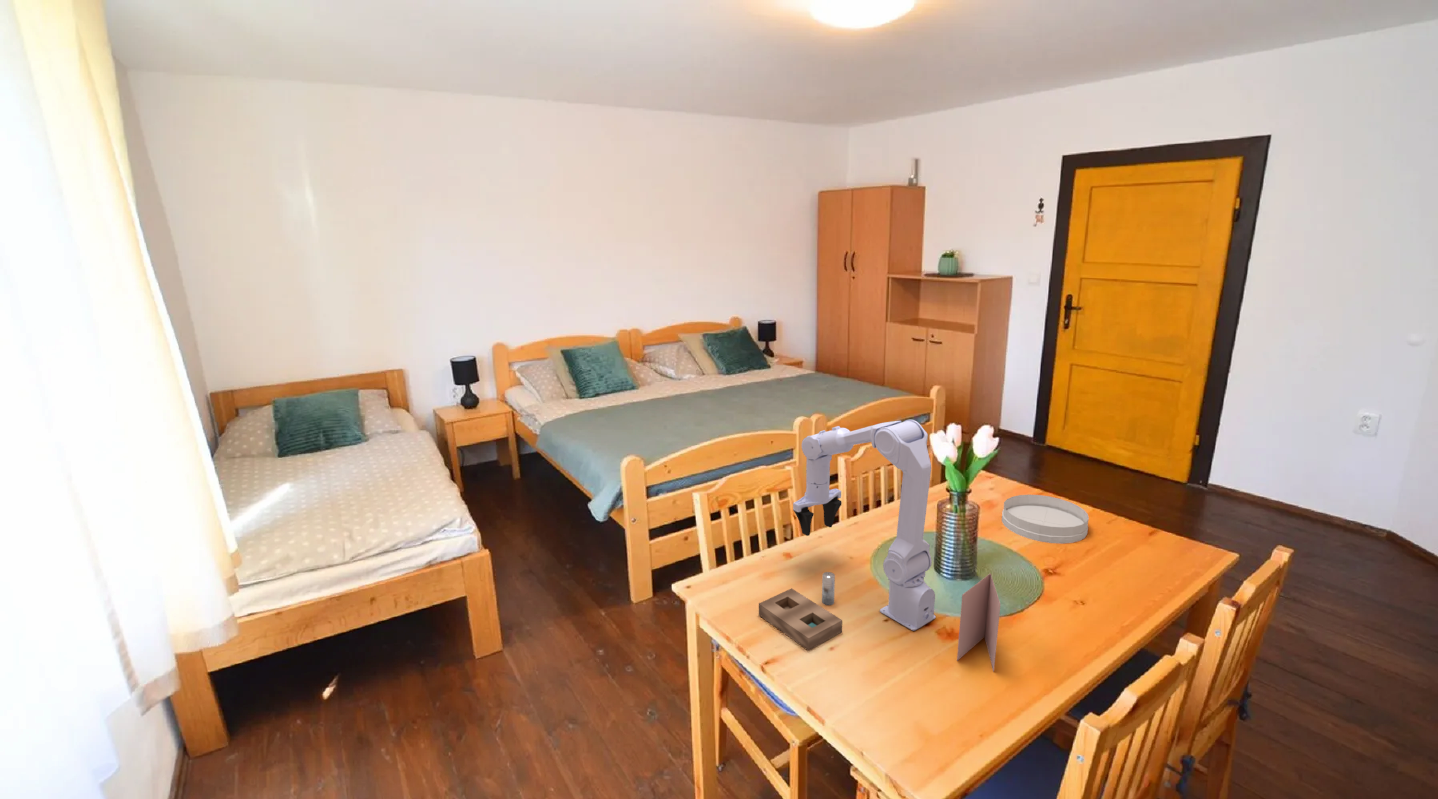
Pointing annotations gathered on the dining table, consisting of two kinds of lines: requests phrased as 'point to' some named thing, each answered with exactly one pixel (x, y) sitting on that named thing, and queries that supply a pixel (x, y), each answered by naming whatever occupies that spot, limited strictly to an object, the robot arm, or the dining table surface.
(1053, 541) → the dish
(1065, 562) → the dining table surface
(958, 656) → the greeting card
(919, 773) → the dining table surface
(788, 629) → the hole block
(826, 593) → the pin
